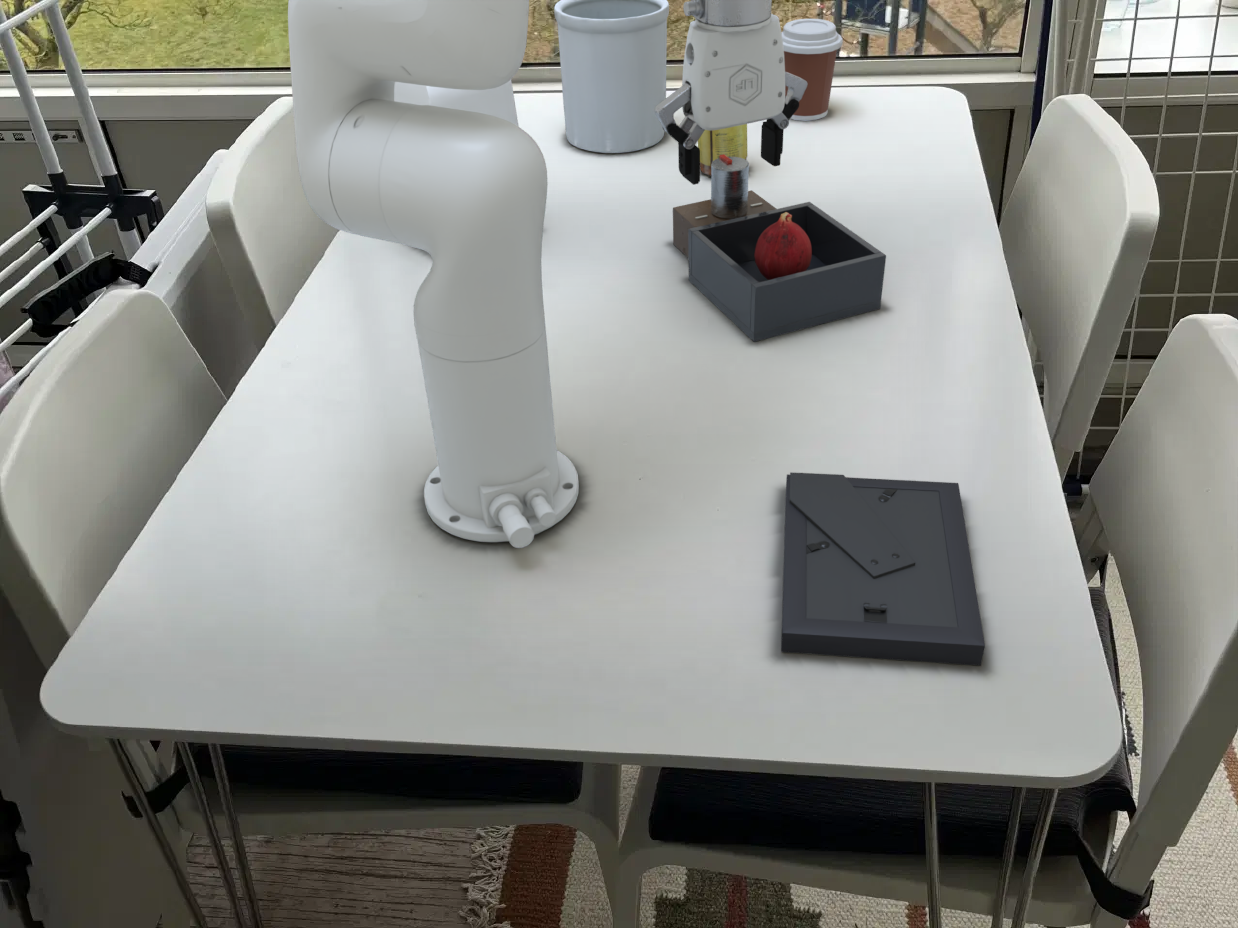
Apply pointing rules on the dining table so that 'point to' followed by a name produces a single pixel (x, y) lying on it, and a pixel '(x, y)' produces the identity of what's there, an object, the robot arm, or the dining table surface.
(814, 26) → the coffee cup
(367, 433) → the dining table surface
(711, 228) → the dark grey open box
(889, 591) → the picture frame
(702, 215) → the block
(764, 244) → the red round fruit
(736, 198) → the metal rotary knob
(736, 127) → the sauce bottle
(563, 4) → the utensil holder
